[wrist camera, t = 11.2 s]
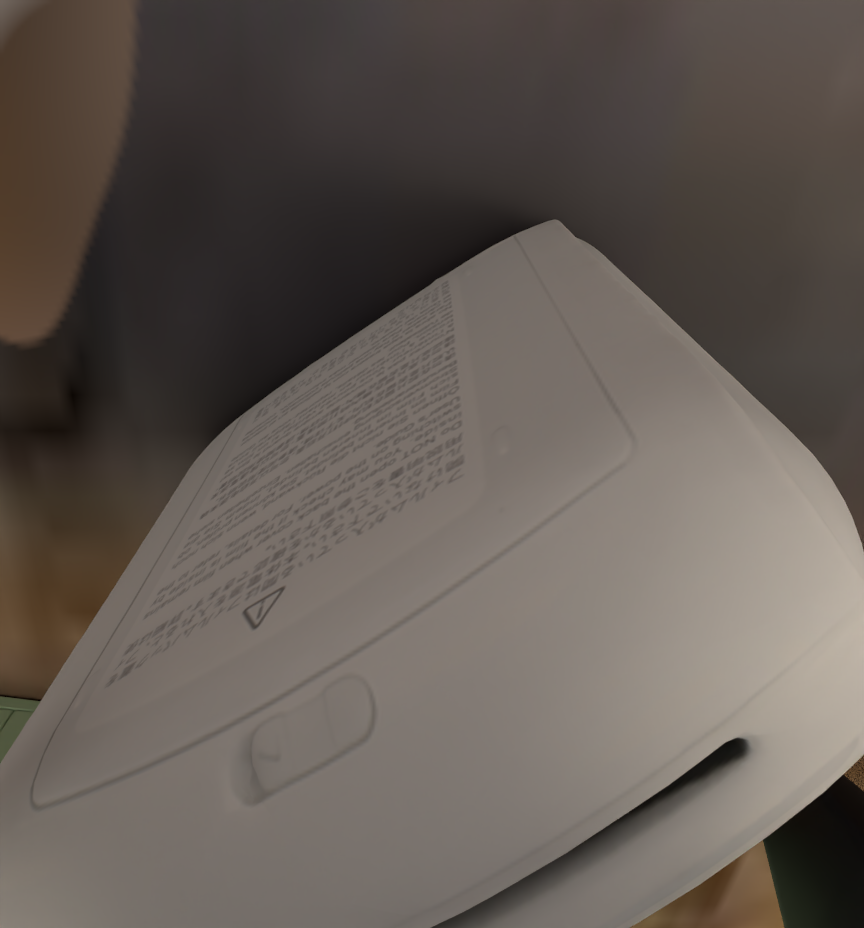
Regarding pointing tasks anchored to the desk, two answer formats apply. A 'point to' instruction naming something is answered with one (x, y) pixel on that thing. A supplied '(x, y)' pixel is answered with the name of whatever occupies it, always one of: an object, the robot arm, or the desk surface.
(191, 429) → the desk surface
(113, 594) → the white rounded tower
